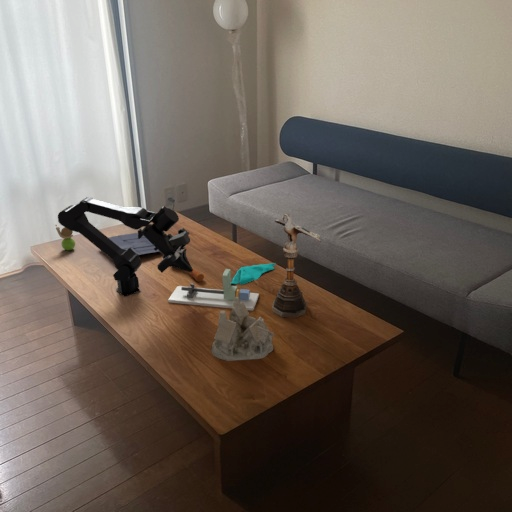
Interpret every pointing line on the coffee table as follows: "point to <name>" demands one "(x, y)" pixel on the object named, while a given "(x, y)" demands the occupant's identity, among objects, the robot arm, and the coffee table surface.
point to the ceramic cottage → (241, 335)
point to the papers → (134, 243)
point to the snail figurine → (66, 238)
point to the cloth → (251, 273)
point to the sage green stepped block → (228, 286)
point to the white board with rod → (211, 297)
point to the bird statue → (291, 274)
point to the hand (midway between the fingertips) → (192, 271)
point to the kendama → (197, 275)
